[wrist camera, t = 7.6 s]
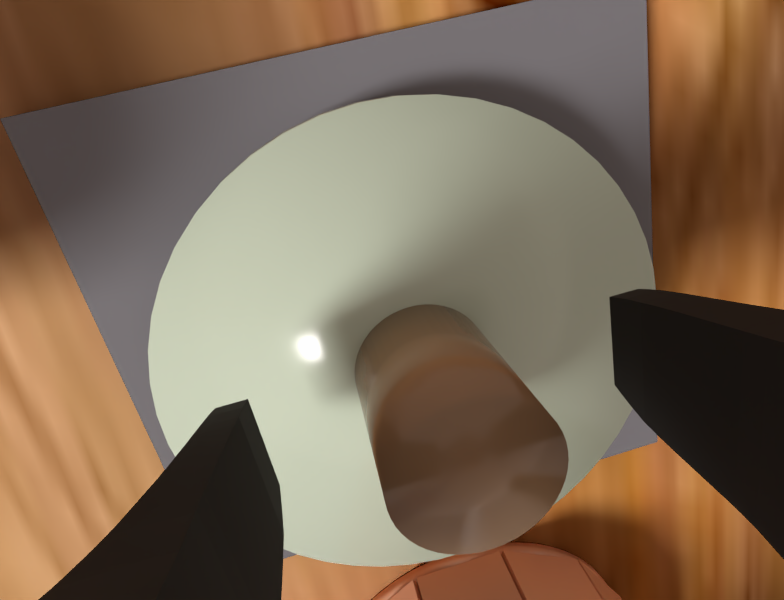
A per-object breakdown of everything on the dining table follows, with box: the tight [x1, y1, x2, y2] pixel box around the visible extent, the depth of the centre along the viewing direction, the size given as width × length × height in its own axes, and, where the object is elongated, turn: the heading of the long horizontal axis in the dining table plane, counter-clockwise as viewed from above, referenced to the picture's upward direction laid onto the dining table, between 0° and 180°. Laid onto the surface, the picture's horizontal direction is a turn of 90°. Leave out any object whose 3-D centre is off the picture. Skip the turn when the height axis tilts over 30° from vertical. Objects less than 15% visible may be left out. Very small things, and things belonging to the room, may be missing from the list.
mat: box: [0, 0, 657, 559], centre depth 14 cm, size 14×13×1 cm
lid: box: [148, 94, 656, 567], centre depth 12 cm, size 12×12×6 cm
